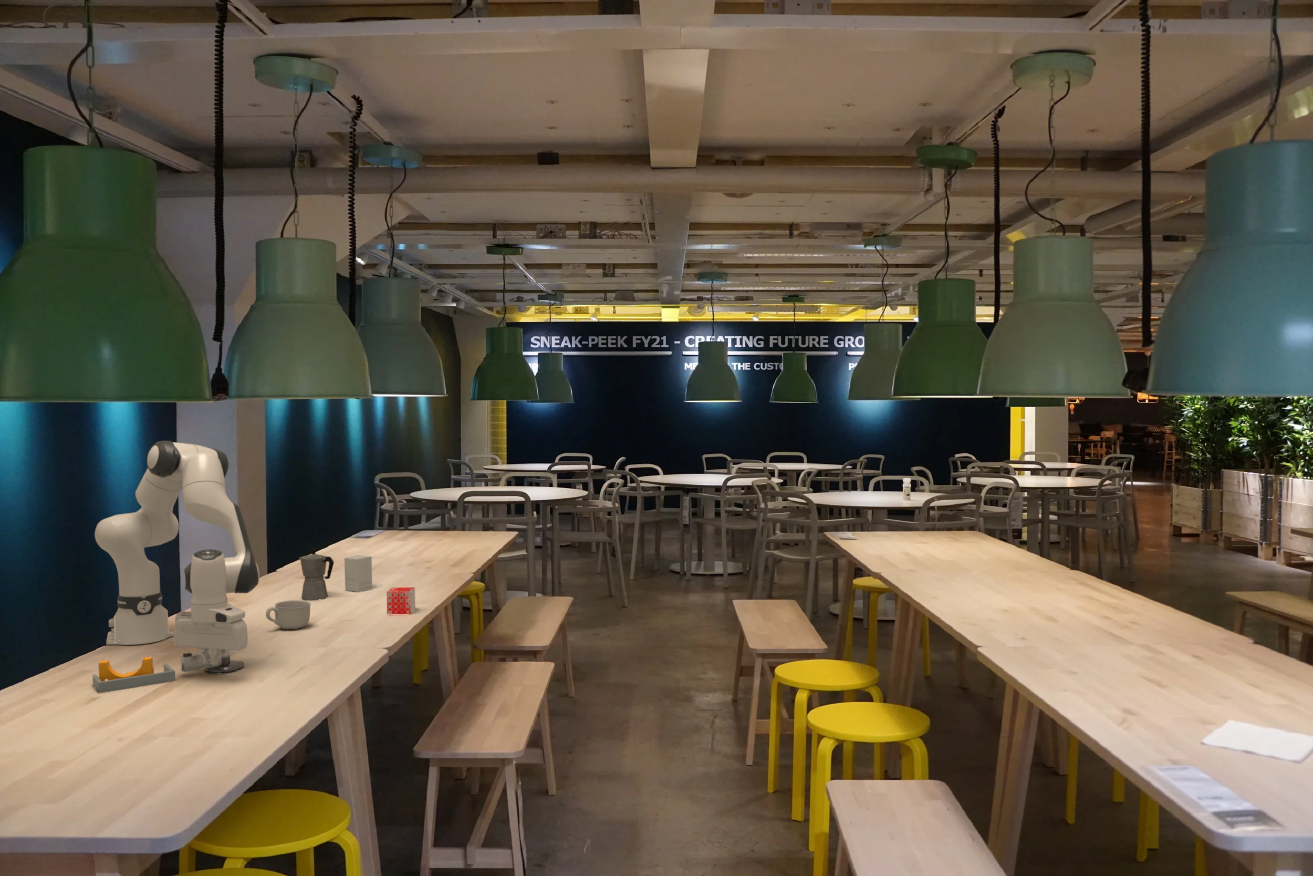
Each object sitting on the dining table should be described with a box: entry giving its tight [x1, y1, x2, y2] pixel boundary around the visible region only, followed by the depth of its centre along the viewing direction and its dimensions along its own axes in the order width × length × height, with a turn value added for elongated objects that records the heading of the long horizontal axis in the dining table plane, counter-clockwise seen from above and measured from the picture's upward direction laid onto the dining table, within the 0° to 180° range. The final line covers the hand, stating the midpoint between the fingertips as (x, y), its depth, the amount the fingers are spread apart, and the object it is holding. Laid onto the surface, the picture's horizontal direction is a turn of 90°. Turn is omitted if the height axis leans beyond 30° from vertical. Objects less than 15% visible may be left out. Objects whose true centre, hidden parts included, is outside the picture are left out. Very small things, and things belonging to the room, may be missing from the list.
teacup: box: [265, 599, 311, 631], centre depth 325 cm, size 14×11×8 cm
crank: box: [180, 649, 231, 673], centre depth 273 cm, size 12×3×5 cm, turn 137°
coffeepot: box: [298, 548, 335, 601], centre depth 373 cm, size 15×9×18 cm, turn 68°
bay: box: [92, 663, 176, 693], centre depth 264 cm, size 10×18×2 cm, turn 127°
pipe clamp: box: [98, 656, 155, 681], centre depth 263 cm, size 12×4×6 cm, turn 108°
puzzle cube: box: [386, 586, 416, 615], centre depth 347 cm, size 8×8×8 cm
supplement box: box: [343, 555, 373, 593], centre depth 389 cm, size 7×7×13 cm
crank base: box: [203, 659, 245, 675], centre depth 277 cm, size 10×10×1 cm
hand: (210, 664), depth 268 cm, fingers closed
